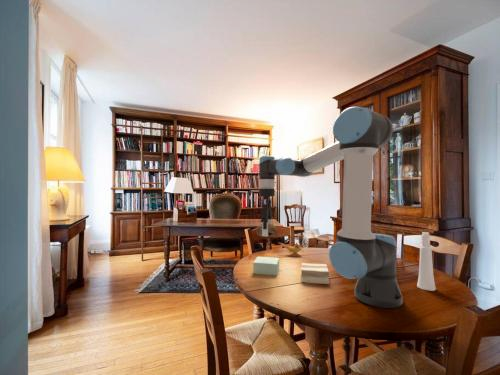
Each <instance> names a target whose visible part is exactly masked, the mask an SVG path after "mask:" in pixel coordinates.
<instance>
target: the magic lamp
mask: <svg viewBox="0 0 500 375" xmlns="http://www.w3.org/2000/svg"><path fill="white" fill-rule="evenodd" d="M306 240H307V237H304V238H303V242H302V244H301V245H300V244H298V242H295V244H294V245H293V246H290V245H287V244H285V243H282V242H279V245H281V246H282V247H283V248H285V249H286V250H288V251H290V252H292V253H291V254H290V255H291V256H293V257H300V254H299V252H304V248H306V247H307V246H308V245H309V244H308V242H307V241H306ZM305 243H306V245H305V246H304V244H305ZM303 246H304V247H303ZM302 250H303V251H302Z"/></svg>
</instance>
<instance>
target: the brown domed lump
mask: <svg viewBox="0 0 500 375" xmlns="http://www.w3.org/2000/svg"><path fill="white" fill-rule="evenodd" d="M255 231H256V232H255V233H256V234H257V236H260V237H263V236H262V223H261V224H259V225H258V226H257V227H256V230H255ZM277 235H278V228H277V226H275V225H274V223H272V222H271V223H269V222H268V236H265V237H275V236H277Z"/></svg>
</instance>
